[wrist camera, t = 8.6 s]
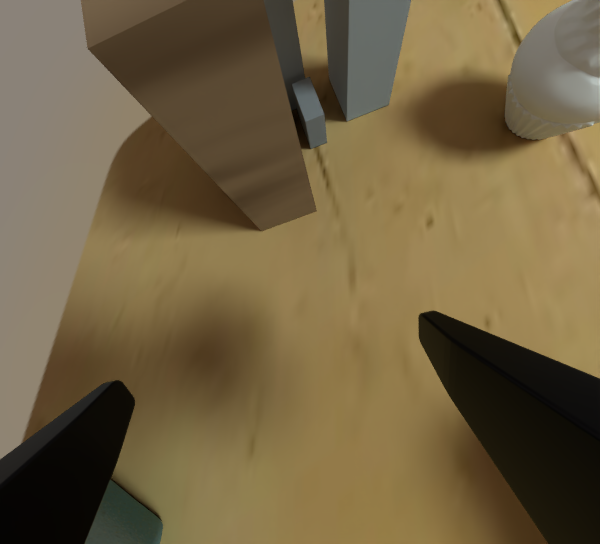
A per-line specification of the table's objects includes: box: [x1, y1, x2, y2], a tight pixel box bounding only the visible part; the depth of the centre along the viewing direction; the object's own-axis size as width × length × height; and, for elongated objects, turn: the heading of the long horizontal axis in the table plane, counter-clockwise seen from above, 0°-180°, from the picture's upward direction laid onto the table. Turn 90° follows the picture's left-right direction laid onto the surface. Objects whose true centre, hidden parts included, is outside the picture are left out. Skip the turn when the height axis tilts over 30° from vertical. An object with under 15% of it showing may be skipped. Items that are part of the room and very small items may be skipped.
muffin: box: [504, 0, 600, 140], centre depth 12 cm, size 6×6×7 cm
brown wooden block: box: [81, 0, 317, 231], centre depth 12 cm, size 8×4×12 cm, turn 17°
